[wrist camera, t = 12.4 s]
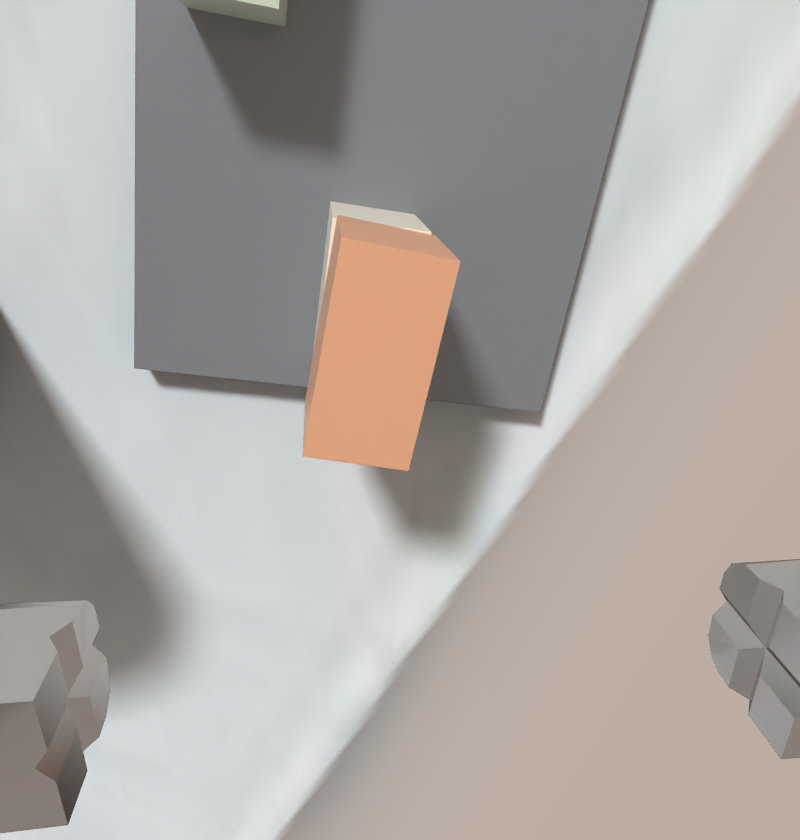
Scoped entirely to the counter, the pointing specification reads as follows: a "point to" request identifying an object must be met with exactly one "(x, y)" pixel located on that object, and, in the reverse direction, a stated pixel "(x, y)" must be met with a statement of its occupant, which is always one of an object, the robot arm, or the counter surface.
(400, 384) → the terracotta brick
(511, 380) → the baseplate
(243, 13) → the sage brick
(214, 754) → the counter surface
